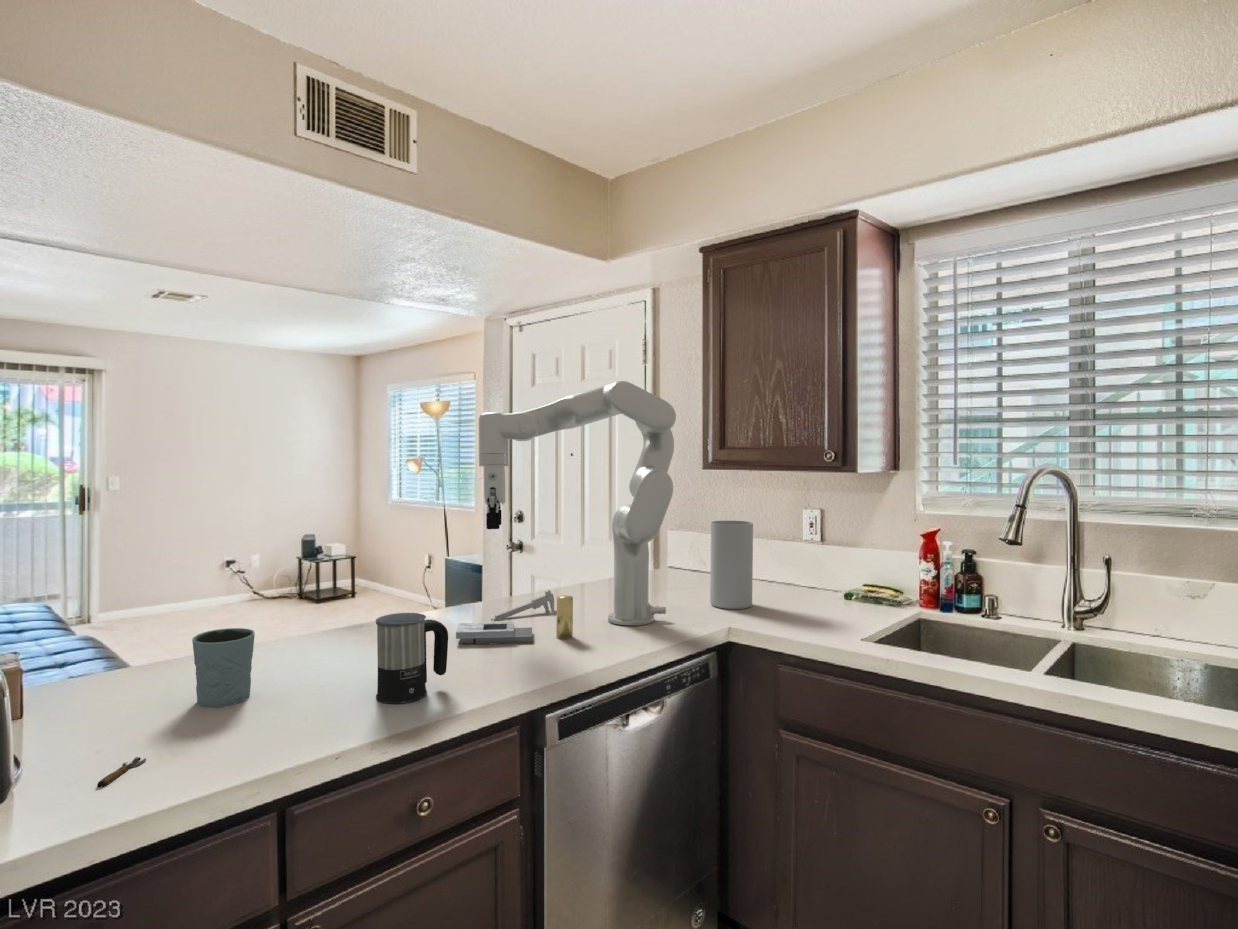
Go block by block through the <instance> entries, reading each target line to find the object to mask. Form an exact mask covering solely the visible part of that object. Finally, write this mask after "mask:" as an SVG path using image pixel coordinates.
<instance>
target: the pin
mask: <svg viewBox="0 0 1238 929" xmlns="http://www.w3.org/2000/svg"><path fill="white" fill-rule="evenodd" d="M573 614H574V597H573V596H572V595H566V594H565V595H558V596H556V638H557V639H558V638H560V639H559V640H569V638H570V639H573V638H574V637H573V635H574V634H573V633H574V632H573V631H574V630H573V629H574V623H573V622H574V620H573V619H574V615H573Z"/></svg>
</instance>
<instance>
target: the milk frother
mask: <svg viewBox="0 0 1238 929" xmlns="http://www.w3.org/2000/svg"><path fill="white" fill-rule="evenodd" d="M375 624H376V626H377V629H376V632H377V634H376V635H377V636H376V637H377V638H376V639H377V642H376V643H377V644H376V645H377V648H376V649H377V691H376V692H377V693H376V695H375V699H376V700H377V701H378V702H381V703H385V704H391V705H392V704H393V705H396V704H406V703H410V702H415V701H418V700H421V699H422V698H424V697H426V695H427V692H428V691H427V686H426V683H427V681H428V676H427V675H428V673H427V672H428V671H427V669H428V668H427V633H428V632H433V634H434V641H433V668H432V669H433V672H434V673H435V674H436V675H438V676H444V675H445V674H446V673H447V665H448V652H449V651H448V650H449V648H448V647H449V632H448V628H447V627H446V626H445V625H444V624H443V623H442V622H440V621H438V620H435V619H427V616H426V615H424V613H423V614H422V613H418V612H397V613H390V614H386V615H385V614H384V615H382V616H379V617H377V618H376V619H375Z"/></svg>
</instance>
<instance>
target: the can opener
mask: <svg viewBox="0 0 1238 929" xmlns="http://www.w3.org/2000/svg"><path fill="white" fill-rule="evenodd" d="M138 761H139V762H138ZM137 762H138V763H137ZM146 762H147V758H146V757H145V758H144V759H141V757H140V756H136V757H134V758H133V760H132V761H131V762H130V763H129V762H127V761H126V762H123V763H122V764H121V767H119V768H117V769H116V770H115V771H113V772H111V773H109V774H107V775H106V776H104V777H103V778H101V780H99V781H98V782H97V787H98V788H105V787H107V786H108V785H110V784H111V783H112V782H114V781H116V780H117V779H118V778H119V777H121V776H122V775H123V774H125V773H126V772H128V771H129V770H130V768H137V767H141V766H142V765H144V764H145V763H146Z"/></svg>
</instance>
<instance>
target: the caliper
mask: <svg viewBox="0 0 1238 929" xmlns="http://www.w3.org/2000/svg"><path fill="white" fill-rule="evenodd" d="M548 603H549V604H548ZM542 606H543V608H544V610H545V611H546V612H550V610H551V609H552V610H551V611H555V596H554V593H552V591H551V590H550V589H548V590H547V591H546V590H545V591H544V595H540V596H539V597H536V598H534V599H531V601H529V602H527V603H524V604H521V605H520V606H516V607H514V608H512V609H508V610H506V611H503V612H501V613H498V614H495V615H494V617H493V618H491V619H490V620H491V621H492V620H495V621H499V620H498V619H501V620H504V619H506V618H509V617H512V616H514V615H517V614H520V613H523V612H525V611H528V610H530V609H533V610H537V609H540V608H542ZM549 606H550V607H549Z"/></svg>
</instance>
